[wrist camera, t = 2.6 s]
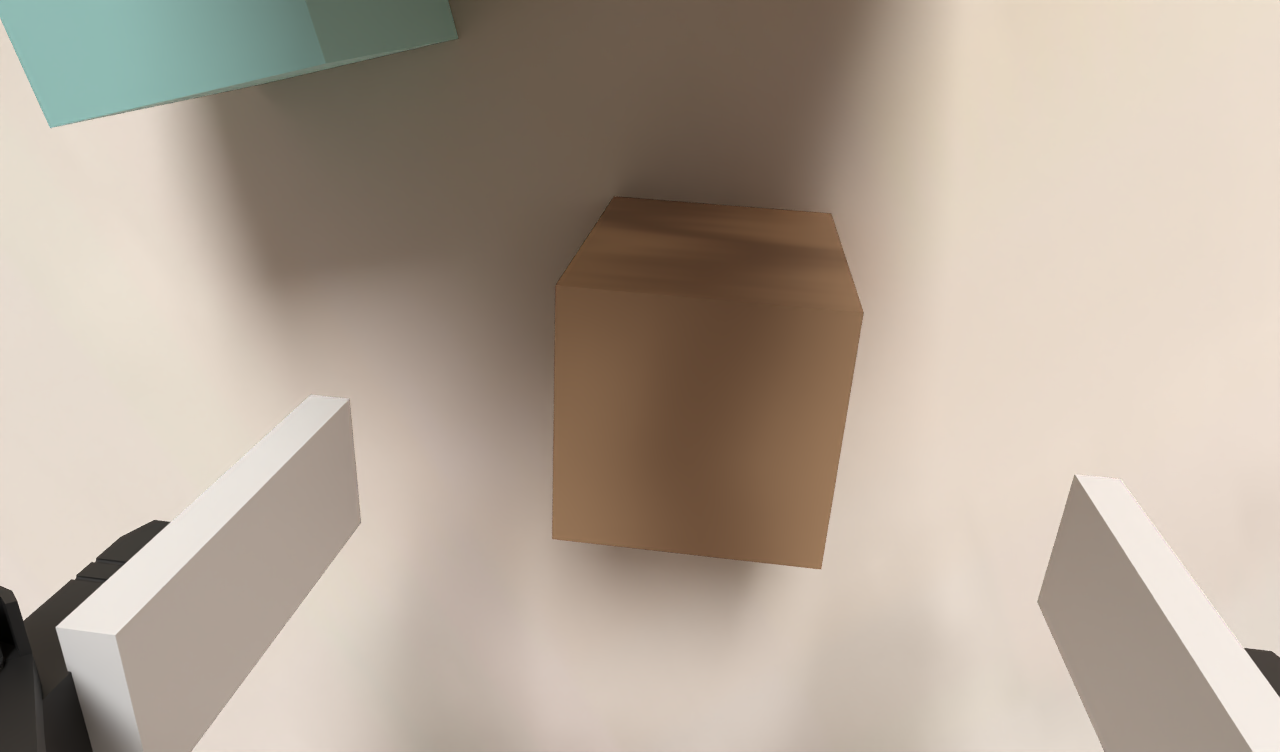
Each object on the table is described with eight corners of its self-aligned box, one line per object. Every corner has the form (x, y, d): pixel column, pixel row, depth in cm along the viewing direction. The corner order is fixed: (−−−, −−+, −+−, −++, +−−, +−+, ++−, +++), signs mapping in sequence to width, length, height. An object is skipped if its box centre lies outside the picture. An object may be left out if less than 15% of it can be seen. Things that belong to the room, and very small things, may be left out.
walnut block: (606, 389, 27) (552, 539, 20) (614, 195, 25) (555, 285, 17) (803, 409, 27) (821, 569, 19) (831, 213, 24) (862, 312, 17)
